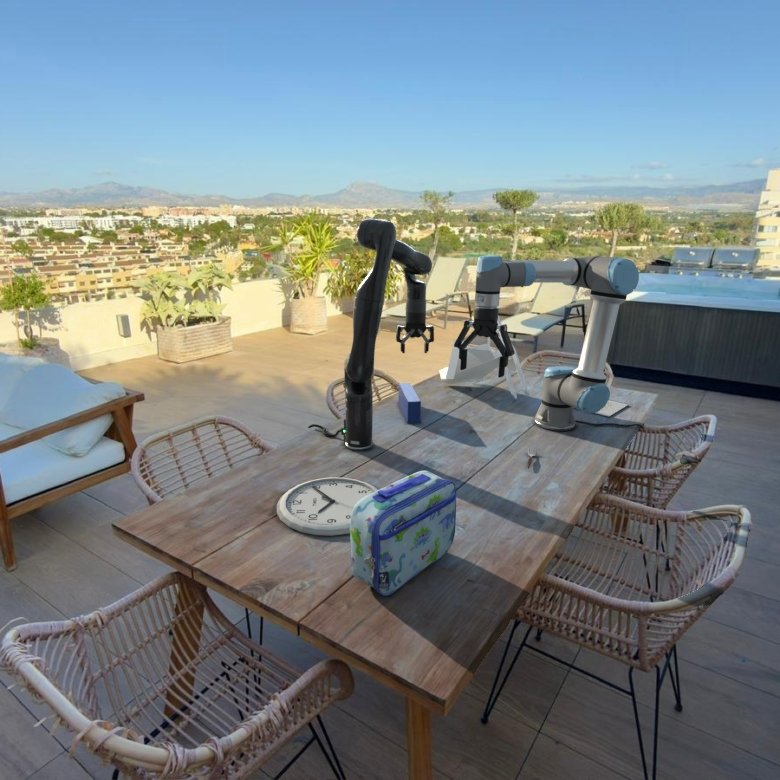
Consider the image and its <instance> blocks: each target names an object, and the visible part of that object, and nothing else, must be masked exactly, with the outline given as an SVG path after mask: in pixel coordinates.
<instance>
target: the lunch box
mask: <svg viewBox="0 0 780 780" xmlns="http://www.w3.org/2000/svg"><path fill="white" fill-rule="evenodd" d="M456 519H457V488H456V484H455V482H454V480H452V479H449V478H448V479H447V478H446V479H445V478H442V477H440V476H439V475H437V474H434V473H432V471H428V470H419V471H417V472H414V473H412V474H410V475H407V476H405V477H403V478H400V479H399V480H396V481H394V482H392V483H390V484H388V485H386V486H384V487H382V488H380V489H379V490H378V491H376V492H374V493H372V494H370V495H367V496H365V497H364V498H362V499H360V500H359V501H358V502H357V503H356V505H355V506H354V508H353V510H352V513H351V517H350V533H349V540H350V566H351V573H352V575H353V577H354V578H355V579H357V580H359V581H362V582H363V583H365V584H367V585H368V586H370V587H371V588H373V589H374V590H375V592H376V593H378V594H379V595H381V596H386V597H387V596H390V595H392V594H394V593H395V592H396V591H398V590H399V589H400V588H401V587H402V586H404V585H405V584H407V583H408V582H409V581H411V580H412V579H413V578H415V577H416V576H418V575H419V574H420V573H421V572H423V571H424V570H425V569H426V568H428V566H430V565H432V564H434V563H435V562H437V561H438V560H440V559H441V558H442V557H444V556H445V555H446V554H447V553H448V552H449V550H450V548H451V547H452V545H453V542H454V539H455V535H456V524H457V523H456V522H457V520H456Z"/></svg>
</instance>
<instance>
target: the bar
mask: <svg viewBox="0 0 780 780" xmlns="http://www.w3.org/2000/svg"><path fill="white" fill-rule="evenodd" d="M397 401H398V402H397V403H398V406H399V408H400V410H401V412H402V414H403V417H404V419H405V421H406V424H410V425H411V424H421V410H422V407H421V406H422V401H421V399H420V398H419V396H418V393H417V392H416V390H415V389H414V387H413V385H412V383H411V382H399V383H398V400H397Z"/></svg>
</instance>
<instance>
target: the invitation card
mask: <svg viewBox="0 0 780 780" xmlns="http://www.w3.org/2000/svg"><path fill="white" fill-rule="evenodd" d="M628 406H629V404H627V403H623V402H618V401H614V400H610V399H609V400H608V402H607V404H606V405H605V406H604V407H603V408H602V409H601V410H600V411H598V412H596V413H595V414H596V415H600V416H604V417H608V418H609V417H611V416H613V415H614V414H616V413H617V412H619V411H621V410H623V409H624V408H626V407H628Z"/></svg>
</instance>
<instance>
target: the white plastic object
mask: <svg viewBox="0 0 780 780" xmlns="http://www.w3.org/2000/svg"><path fill="white" fill-rule="evenodd" d="M497 323H498V325H503V324H502V321H501V318H500V315H498V321H497ZM497 332H498V336H499V338H500V340H501V341H502V343H503V345H504V342H503V339H502V337H501V333H500V331H499V329H497ZM456 340H457V338H454V340H453V344H452V349H451V353H450V357H449V362H448V366H446V367H444V368H442V369H440V370H439V371H438V372H439V376H440V381H442V383H443V384H444V385H445V386H449V385H458V384H467V383H468V384H469V383H473V384H477V383H480V382H482V381H484V378H485V377H486V376H487V375H489V374H490V373H492V372H494V371H495V370H496V369H497V368H499V362H500V357H501V356H502V355H501V353H500V351H499V350H498V349H496V350H495V349H493V348H492V347H491V346H490V344H489V343H488V342H487V343H483V344H479V345H473V346H469V345H468V346H467V347H466V348H465V349H467V365H466V369H464V370H460V366H461V359H459V349H458V348H457V347H454V344H455V342H456ZM464 341H465V339H464V340H463V342H464ZM463 342H462V343H463ZM504 346H505V345H504ZM512 346H513V349H514V352H515V354H514V355H512V356H509V357H508V361H510V360H513V363H514V366H515V369H516V372H517V376H518V380H519V382H520V385H521V389H522V391H523V393H524V395H525V396H526V397H528V396H531V395H530V390H529V388H528V387H529V386H528V384H527V381H526V378H525V375H524V371H523V369H522V368H523V367H522V366H521V362H520V359H519V355H518V352H517V349H516V347H515V346H514V345H513V344H512ZM504 376H505V380H506V383H507V386H508V390H509V393H510V394H511V395H512V397H513V398H514V399H515V400H517V392H516V391H517V390H516V388H515V385H514V381H513V378H512V375H511V371H510V369H509V364H508V365H507V367H505V372H504Z"/></svg>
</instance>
